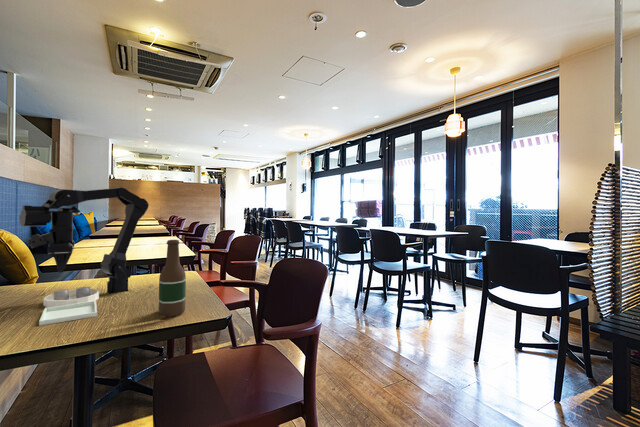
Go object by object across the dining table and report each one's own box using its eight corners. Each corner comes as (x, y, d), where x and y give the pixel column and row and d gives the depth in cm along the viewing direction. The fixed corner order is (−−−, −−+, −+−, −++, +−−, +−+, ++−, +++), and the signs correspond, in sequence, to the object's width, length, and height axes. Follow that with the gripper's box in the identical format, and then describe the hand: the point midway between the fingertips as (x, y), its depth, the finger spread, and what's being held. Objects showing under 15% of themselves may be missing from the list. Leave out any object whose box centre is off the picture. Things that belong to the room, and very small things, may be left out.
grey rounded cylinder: (90, 297, 111) (90, 286, 111) (90, 299, 108) (90, 288, 107) (76, 298, 108) (76, 287, 108) (75, 301, 105) (75, 290, 105)
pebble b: (69, 299, 107) (69, 288, 107) (68, 302, 104) (68, 291, 104) (54, 301, 105) (54, 290, 105) (53, 304, 101) (53, 292, 101)
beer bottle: (158, 319, 92) (159, 241, 92) (158, 311, 99) (159, 239, 99) (186, 315, 96) (187, 240, 95) (184, 308, 102) (185, 238, 102)
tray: (96, 306, 103) (96, 300, 103) (97, 318, 92) (97, 312, 92) (44, 314, 95) (44, 307, 95) (39, 328, 84) (39, 321, 84)
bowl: (98, 294, 117) (98, 287, 117) (99, 304, 105) (99, 296, 105) (46, 301, 107) (46, 292, 107) (41, 313, 96) (41, 303, 96)
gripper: (34, 224, 106) (33, 268, 107) (25, 227, 92) (25, 278, 92) (74, 224, 113) (74, 265, 113) (72, 226, 99) (72, 273, 99)
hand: (61, 270), depth 104 cm, fingers open, 9 cm apart
